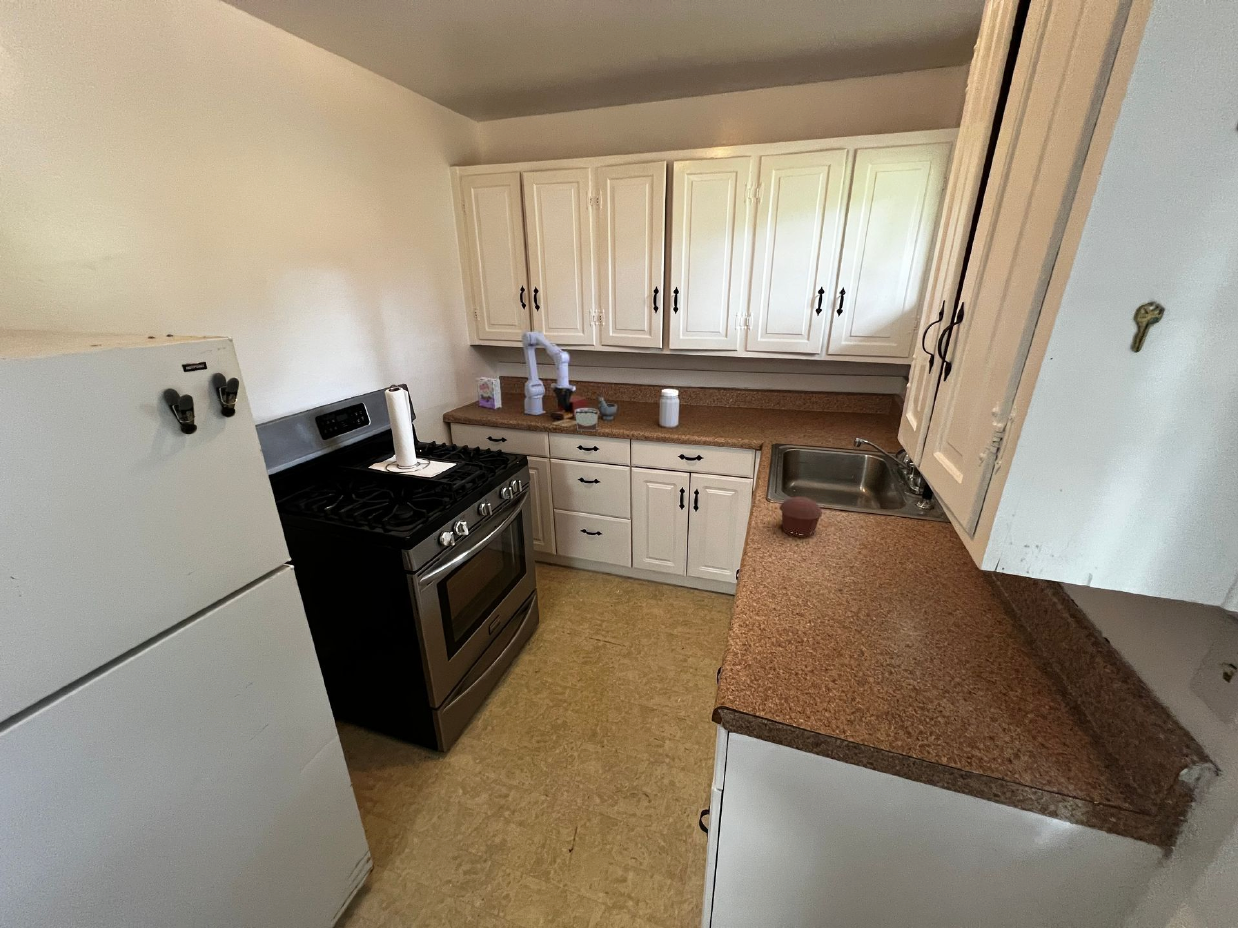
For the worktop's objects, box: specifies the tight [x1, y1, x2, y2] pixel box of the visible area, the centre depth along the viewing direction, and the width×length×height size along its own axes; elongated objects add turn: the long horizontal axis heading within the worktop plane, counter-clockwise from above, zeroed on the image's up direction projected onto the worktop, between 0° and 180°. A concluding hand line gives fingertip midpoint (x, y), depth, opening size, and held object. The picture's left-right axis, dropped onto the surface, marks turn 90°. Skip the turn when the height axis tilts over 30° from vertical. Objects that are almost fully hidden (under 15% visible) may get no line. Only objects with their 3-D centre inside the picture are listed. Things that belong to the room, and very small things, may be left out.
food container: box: [574, 407, 600, 432], centre depth 236 cm, size 12×6×10 cm, turn 84°
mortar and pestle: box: [598, 396, 618, 421], centre depth 254 cm, size 11×9×12 cm
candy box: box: [475, 376, 503, 410], centre depth 276 cm, size 14×6×16 cm, turn 55°
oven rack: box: [549, 410, 573, 420], centre depth 256 cm, size 9×13×3 cm
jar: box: [658, 388, 680, 429], centre depth 240 cm, size 10×10×18 cm
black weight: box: [557, 390, 570, 407], centre depth 245 cm, size 4×4×7 cm
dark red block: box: [557, 395, 588, 419], centre depth 262 cm, size 11×12×9 cm
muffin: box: [779, 496, 823, 539], centre depth 140 cm, size 12×11×10 cm
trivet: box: [551, 418, 577, 428], centre depth 247 cm, size 10×10×1 cm
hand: (563, 402), depth 245 cm, fingers closed on black weight, 4 cm apart
